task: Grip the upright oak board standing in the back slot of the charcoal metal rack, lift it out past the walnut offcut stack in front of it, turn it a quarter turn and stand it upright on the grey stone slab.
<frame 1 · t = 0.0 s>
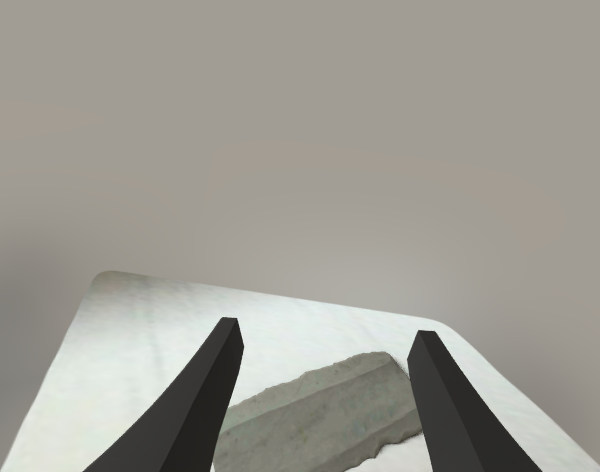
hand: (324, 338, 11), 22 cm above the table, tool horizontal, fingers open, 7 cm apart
stone slab: (318, 422, 29), on the table
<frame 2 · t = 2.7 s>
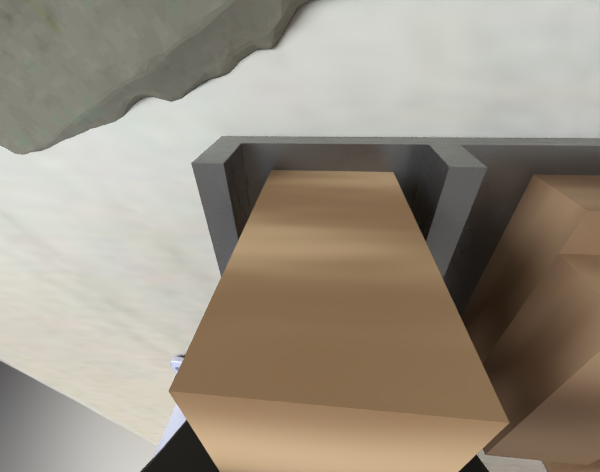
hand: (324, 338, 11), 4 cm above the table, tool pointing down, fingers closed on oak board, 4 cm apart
walnut offcut upper: (552, 343, 11), point 3 cm above the table, touching walnut offcut lower
oak board: (325, 285, 14), point 1 cm above the table, touching gripper, rack
rack: (429, 279, 14), on the table
walnut offcut lower: (517, 295, 13), point 1 cm above the table, touching rack, walnut offcut upper
when the fingers open (6 cm above the table, at t = 7.7 s): oak board stays where it is, resting on stone slab.
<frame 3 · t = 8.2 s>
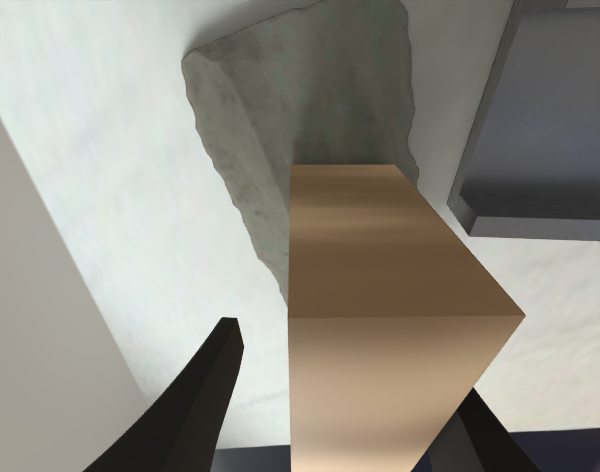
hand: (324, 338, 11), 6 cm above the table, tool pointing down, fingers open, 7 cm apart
stone slab: (338, 236, 17), on the table, touching oak board
oak board: (331, 269, 15), point 2 cm above the table, tilted 7°, touching gripper, stone slab
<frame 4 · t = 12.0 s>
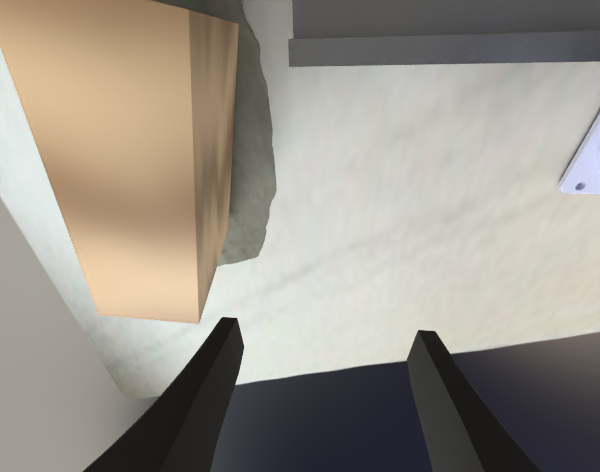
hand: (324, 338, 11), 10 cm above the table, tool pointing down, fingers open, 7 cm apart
stone slab: (207, 125, 18), on the table, touching oak board
oak board: (193, 141, 16), point 2 cm above the table, tilted 7°, touching stone slab
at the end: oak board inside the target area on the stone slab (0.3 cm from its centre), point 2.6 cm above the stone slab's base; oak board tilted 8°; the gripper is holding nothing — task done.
